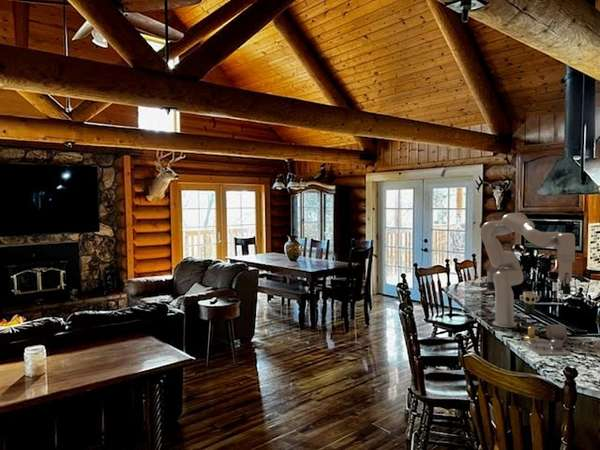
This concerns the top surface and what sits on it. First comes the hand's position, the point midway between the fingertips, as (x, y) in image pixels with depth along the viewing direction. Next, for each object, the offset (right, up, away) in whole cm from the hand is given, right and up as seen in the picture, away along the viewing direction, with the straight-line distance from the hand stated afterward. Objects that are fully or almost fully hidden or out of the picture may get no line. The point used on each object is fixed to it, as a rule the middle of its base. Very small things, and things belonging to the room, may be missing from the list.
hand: (565, 292), depth 220 cm
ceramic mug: (-1, -25, +5) cm, 25 cm away
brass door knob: (-14, -25, +5) cm, 29 cm away
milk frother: (+22, -18, +140) cm, 143 cm away
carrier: (-15, -26, -8) cm, 31 cm away
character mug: (+12, -22, +58) cm, 63 cm away
